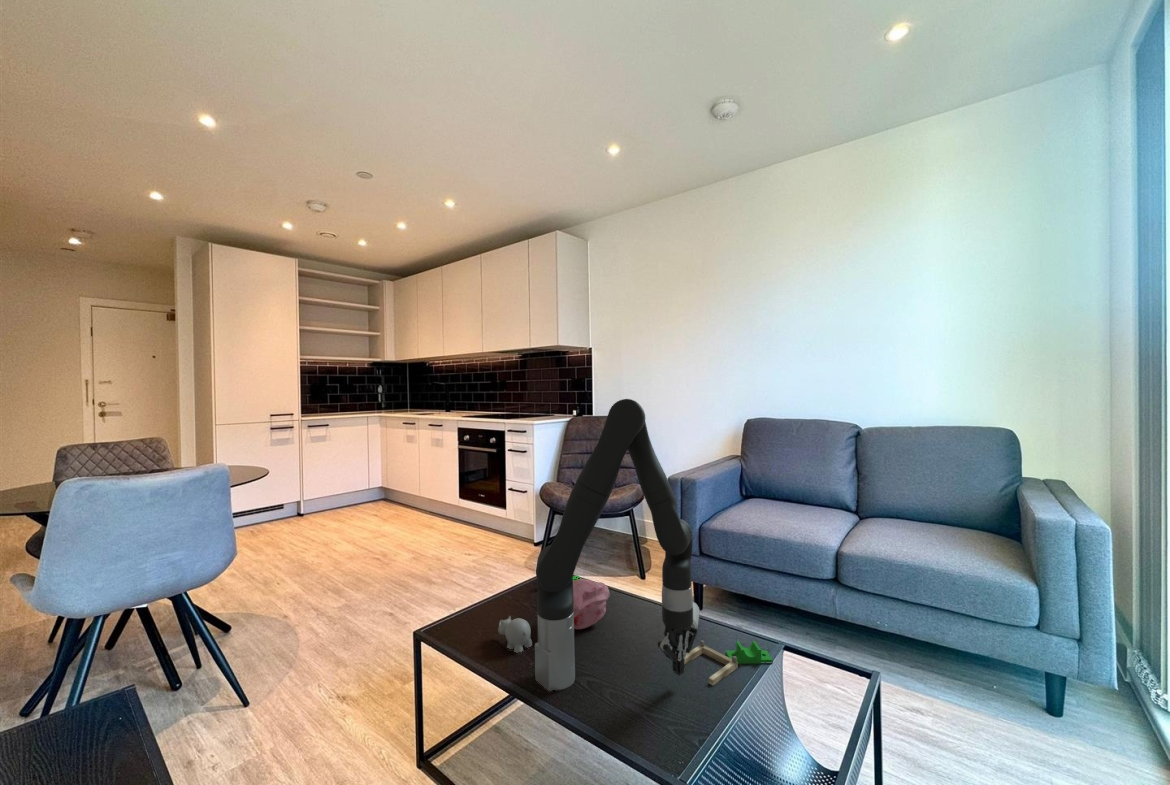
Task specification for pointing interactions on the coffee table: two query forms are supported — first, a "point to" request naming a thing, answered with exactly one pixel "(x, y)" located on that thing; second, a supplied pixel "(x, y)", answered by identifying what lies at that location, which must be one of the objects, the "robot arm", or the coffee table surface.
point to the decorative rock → (588, 602)
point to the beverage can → (695, 615)
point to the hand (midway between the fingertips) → (678, 672)
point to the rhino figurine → (516, 633)
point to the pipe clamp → (749, 654)
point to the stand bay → (730, 663)
